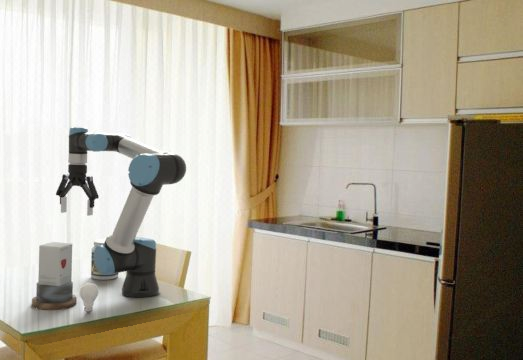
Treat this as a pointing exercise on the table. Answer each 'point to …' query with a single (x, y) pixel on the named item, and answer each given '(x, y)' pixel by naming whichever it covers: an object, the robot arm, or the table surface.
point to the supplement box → (55, 264)
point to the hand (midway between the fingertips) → (76, 213)
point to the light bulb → (88, 295)
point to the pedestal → (54, 297)
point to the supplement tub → (94, 270)
